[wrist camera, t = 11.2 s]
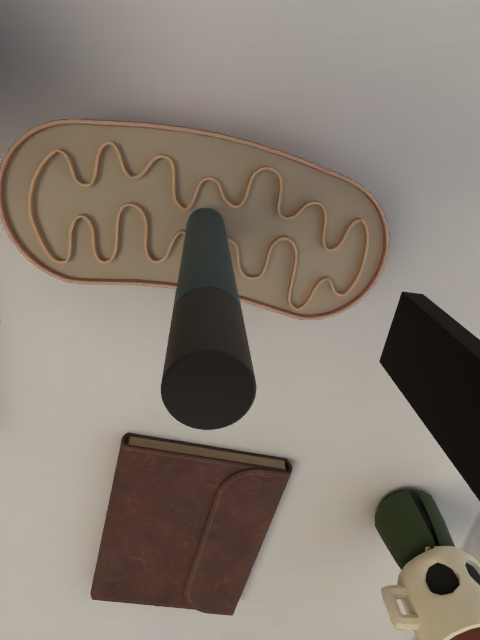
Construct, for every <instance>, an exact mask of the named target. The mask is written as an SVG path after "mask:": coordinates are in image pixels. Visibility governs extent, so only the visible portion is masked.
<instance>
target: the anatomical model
mask: <svg viewBox="0 0 480 640" xmlns="http://www.w3.org/2000/svg"><path fill="white" fill-rule="evenodd" d="M200 208H211V209H214V210H215V211H217V212H218V213H219V214H220V215H221V216H222V218H223V220H224V224H225V229H226V234H227V239H228V244H229V249H230V254H231V259H232V265H233V270H234V275H235V280H236V285H237V290H238V295H239V300H240V302H244V303H248V304H251V305H255V306H258V307H261V308H264V309H267V310H270V311H273V312H277V313H280V314H283V315H286V316H289V317H292V318H296V319H300V320H318V319H323V318H327V317H331V316H334V315H337V314H340V313H342V312H344V311H345V310H347V309H349V308H351V307H352V306H354V305H355V304H357V303H358V302H359V301H360V300H361V299H362V298H364V297H365V296H366V295H367V294H368V293H369V292H370V290H371V289H372V288H373V286H374V285H375V284H376V282H377V280H378V279H379V277H380V275H381V273H382V271H383V269H384V266H385V263H386V260H387V257H388V250H389V230H388V225H387V221H386V218H385V215H384V212H383V210H382V208H381V206H380V205H379V203H378V202H377V201H376V199H375V198H374V197H373V196H372V195H371V193H370V192H369V191H367V190H366V189H365V188H364V187H363V186H361V185H360V184H359V183H357V182H355V181H353V180H351V179H349V178H347V177H345V176H343V175H342V174H339V173H337V172H334V171H332V170H329V169H327V168H324V167H322V166H319V165H317V164H314V163H312V162H309V161H306V160H304V159H301V158H299V157H296V156H294V155H291V154H288V153H285V152H282V151H279V150H276V149H273V148H270V147H267V146H264V145H261V144H257V143H254V142H251V141H247V140H243V139H240V138H236V137H232V136H228V135H224V134H220V133H215V132H209V131H204V130H199V129H193V128H187V127H179V126H171V125H163V124H154V123H144V122H127V121H109V120H92V119H62V120H56V121H50V122H47V123H45V124H42V125H39V126H37V127H35V128H33V129H31V130H29V131H27V132H26V133H24V134H23V135H22V136H21V137H20V138H19V139H18V140H17V141H16V142H15V143H14V144H13V145H12V146H11V147H10V148H9V150H8V152H7V153H6V155H5V157H4V159H3V161H2V163H1V166H0V218H1V221H2V223H3V225H4V228H5V230H6V232H7V233H8V235H9V237H10V239H11V240H12V242H13V243H14V245H15V246H16V247H17V248H18V250H19V251H20V252H21V253H22V254H23V255H24V256H25V257H26V258H27V259H28V260H29V261H30V262H31V263H33V264H34V265H35V266H37V267H38V268H39V269H41V270H42V271H44V272H46V273H47V274H49V275H51V276H53V277H56V278H58V279H61V280H63V281H67V282H70V283H79V284H110V285H140V286H154V287H166V288H173V289H177V283H178V276H179V270H180V264H181V257H182V251H183V245H184V238H185V232H186V226H187V221H188V218H189V216H190V215H191V214H192V213H193V212H194V211H195V210H197V209H200Z"/></svg>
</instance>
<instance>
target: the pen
mask: <svg viewBox="0 0 480 640" xmlns="http://www.w3.org/2000/svg"><path fill="white" fill-rule="evenodd" d="M255 395H256V381H255V376H254V371H253V366H252V361H251V356H250V351H249V346H248V341H247V336H246V330H245V325H244V320H243V315H242V310H241V305H240V300H239V295H238V290H237V285H236V280H235V275H234V270H233V265H232V259H231V254H230V249H229V244H228V239H227V234H226V229H225V224H224V220H223V218H222V216H221V215H220V214H219V213H218V212H217V211H215V210H214V209H211V208H200V209H197V210H195V211H194V212H193V213H192V214H191V215H190V216H189V218H188V221H187V226H186V232H185V238H184V245H183V251H182V257H181V264H180V270H179V276H178V283H177V289H176V295H175V301H174V308H173V314H172V320H171V327H170V333H169V339H168V346H167V352H166V358H165V364H164V371H163V377H162V383H161V396H162V400H163V403H164V405H165V407H166V408H167V410H168V411H169V413H170V414H171V415H172V416H173V417H174V418H175V419H176V420H178V421H179V422H181V423H183V424H185V425H187V426H189V427H192V428H196V429H203V430H212V429H219V428H223V427H226V426H229V425H231V424H233V423H235V422H237V421H238V420H239V419H241V418H242V417H243V416H244V415H245V414H246V413H247V412H248V410H249V409H250V407H251V406H252V404H253V401H254V399H255Z"/></svg>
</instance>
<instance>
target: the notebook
mask: <svg viewBox="0 0 480 640" xmlns="http://www.w3.org/2000/svg"><path fill="white" fill-rule="evenodd" d="M291 472H292V466H291V464H290V462H289V461H288V460H287V459H284V458H278V457H272V456H266V455H260V454H253V453H247V452H241V451H235V450H229V449H222V448H216V447H210V446H204V445H198V444H192V443H185V442H179V441H173V440H167V439H161V438H154V437H148V436H142V435H136V434H130V433H127V434H125V435H124V436H123V438H122V441H121V446H120V451H119V456H118V461H117V466H116V470H115V475H114V480H113V485H112V490H111V495H110V500H109V505H108V510H107V515H106V520H105V525H104V529H103V534H102V539H101V544H100V549H99V554H98V559H97V564H96V569H95V574H94V579H93V584H92V588H91V597H92V599H93V600H102V601H112V602H123V603H133V604H143V605H154V606H164V607H175V608H185V609H196V610H198V611H200V612H204V613H210V614H221V615H233V613H234V611H235V608H236V606H237V604H238V601H239V599H240V596H241V594H242V591H243V589H244V587H245V584H246V582H247V579H248V577H249V574H250V572H251V569H252V567H253V565H254V562H255V560H256V557H257V555H258V552H259V550H260V548H261V545H262V543H263V540H264V538H265V535H266V533H267V530H268V528H269V526H270V523H271V521H272V518H273V516H274V513H275V511H276V509H277V506H278V504H279V501H280V499H281V496H282V494H283V491H284V489H285V487H286V484H287V482H288V479H289V477H290V474H291Z"/></svg>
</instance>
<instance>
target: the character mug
mask: <svg viewBox="0 0 480 640" xmlns="http://www.w3.org/2000/svg"><path fill="white" fill-rule="evenodd" d="M418 493H419V495H420V497H421V499H422V501H418V500H413V498H412V496H411V494H410V492H409V491H408V490H404V491H401V492H398V493H395V494H392V495H391V496H389V497H388V498H387V499H385V500H384V501H383V502H382V503H380V505H379V508H378V510H377V512H376V515H375V527H376V529H377V531H378V532H379V534H380V536H381V538H382V540H383V541H384V543H385V545H386V546H387V548H388V550H389V551H390V553H391V555H392V556H393V558H394V559H395V561H396V563H397V564H398V566H399V567H400V568H401V570H402V571H401V572H400V574H399V578H398V583H397V585H388V586H386V587H383V588H381V593H382V597H383V600H384V603H385V606H386V608H387V611H388V614H389V616H390V619H391V622H392V624H393V625H394V626H395V628H396V629H400V630H414V632H415V635H416V637H417V640H480V565H479V563H478V562H477V561H476V559H475V558H473V557H472V556H470V555H469V554H467V553H466V552H464V551H463V550H461V549H459V548H456V547H455V545H454V543H453V541H452V538H451V536H450V533H449V531H448V529H447V526H446V524H445V521H444V519H443V517H442V515H441V513H440V511H439V509H438V507H437V505H436V503H435V501H434V500H433V498H432V497H431V495H429V494H427V493H425V492H423V491H421V490H420V491H418ZM396 599H401V601H402V603H403V606H404V608H405V611H406V613H407V615H403V614H402V613H401V611H400V609H399V606H398V604H397V601H396Z"/></svg>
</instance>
